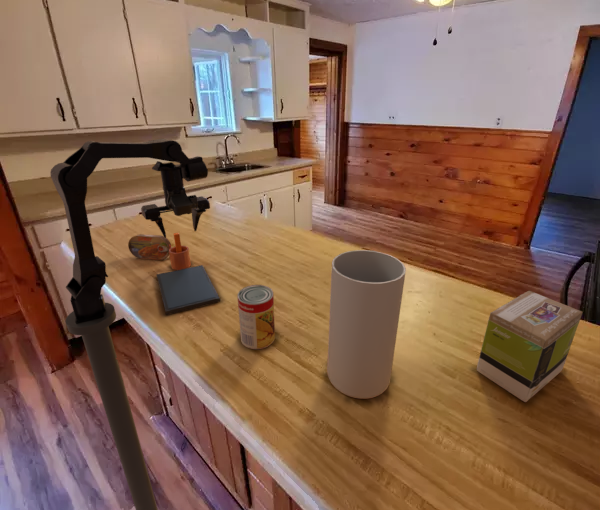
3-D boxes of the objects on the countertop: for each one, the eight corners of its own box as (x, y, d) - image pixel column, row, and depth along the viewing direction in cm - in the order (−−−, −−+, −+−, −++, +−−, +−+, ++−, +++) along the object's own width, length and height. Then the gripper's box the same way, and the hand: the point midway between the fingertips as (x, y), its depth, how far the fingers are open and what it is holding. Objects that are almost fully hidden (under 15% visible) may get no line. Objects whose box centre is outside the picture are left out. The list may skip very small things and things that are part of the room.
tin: (130, 257, 117) (125, 235, 114) (135, 254, 120) (131, 232, 117) (170, 261, 115) (166, 238, 112) (174, 257, 118) (171, 235, 115)
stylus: (178, 265, 111) (174, 235, 106) (178, 263, 112) (173, 233, 108) (183, 264, 111) (179, 234, 107) (183, 262, 113) (178, 232, 108)
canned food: (280, 332, 80) (279, 289, 75) (264, 353, 74) (262, 307, 69) (252, 323, 83) (249, 281, 78) (234, 343, 76) (230, 298, 72)
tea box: (512, 344, 76) (529, 288, 71) (562, 372, 69) (587, 311, 63) (473, 370, 69) (489, 310, 63) (525, 405, 61) (549, 340, 55)
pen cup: (173, 271, 108) (170, 254, 106) (170, 263, 113) (167, 247, 111) (192, 267, 111) (190, 251, 108) (189, 260, 116) (186, 244, 113)
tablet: (166, 315, 86) (165, 311, 86) (157, 277, 104) (156, 274, 104) (220, 301, 92) (219, 297, 92) (202, 268, 110) (202, 264, 110)
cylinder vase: (327, 399, 62) (333, 282, 53) (326, 352, 74) (330, 249, 64) (396, 402, 62) (414, 284, 52) (383, 354, 73) (396, 250, 63)
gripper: (145, 195, 86) (155, 250, 93) (214, 185, 96) (219, 235, 102) (136, 186, 95) (146, 237, 101) (200, 178, 105) (206, 225, 111)
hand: (180, 234), depth 104 cm, fingers open, 9 cm apart
